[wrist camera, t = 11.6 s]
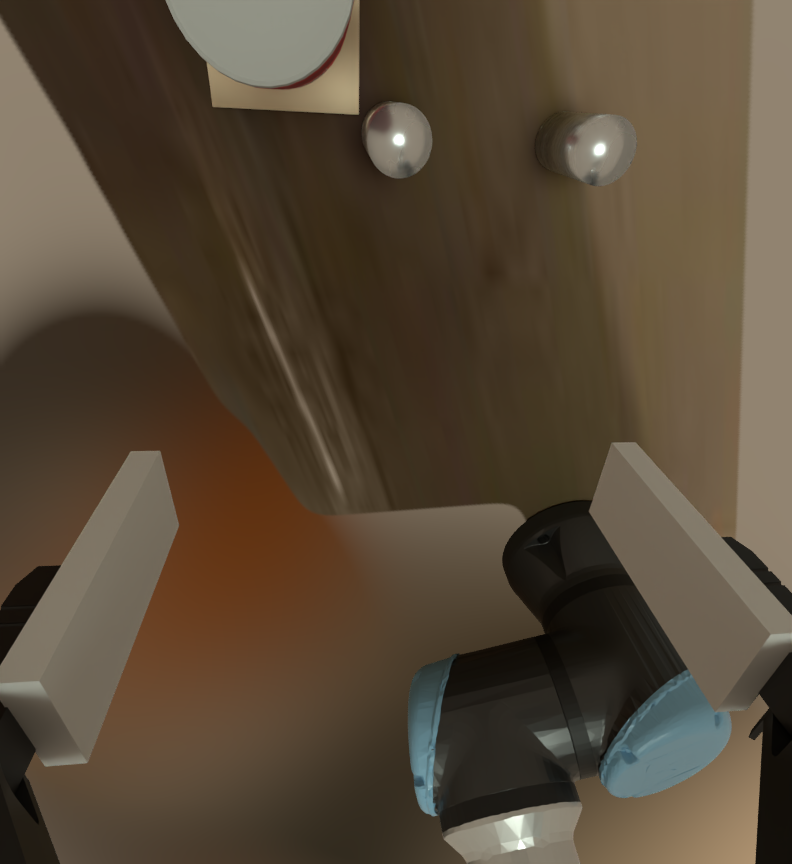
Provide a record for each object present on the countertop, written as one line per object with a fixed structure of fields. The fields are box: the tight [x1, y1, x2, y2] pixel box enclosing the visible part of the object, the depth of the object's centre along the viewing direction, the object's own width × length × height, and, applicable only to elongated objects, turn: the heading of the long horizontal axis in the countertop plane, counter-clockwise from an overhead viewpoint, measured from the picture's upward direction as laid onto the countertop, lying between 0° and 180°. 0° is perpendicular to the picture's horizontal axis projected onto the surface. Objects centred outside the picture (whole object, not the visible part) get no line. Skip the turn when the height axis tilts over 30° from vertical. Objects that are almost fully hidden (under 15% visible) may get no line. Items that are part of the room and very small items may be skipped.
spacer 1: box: [361, 101, 432, 178], centre depth 30 cm, size 4×4×7 cm
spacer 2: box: [535, 111, 637, 186], centre depth 32 cm, size 4×4×7 cm
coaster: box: [207, 0, 359, 115], centre depth 29 cm, size 10×9×1 cm
